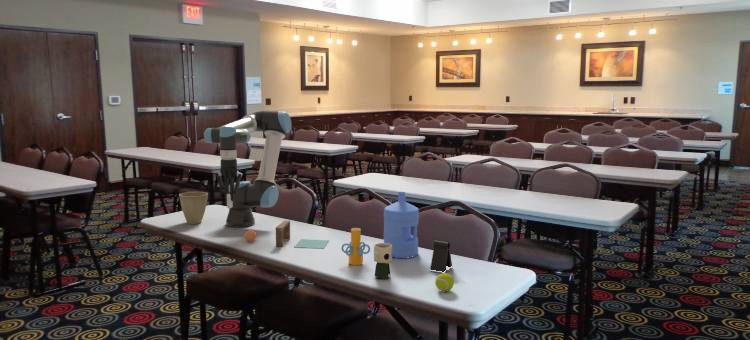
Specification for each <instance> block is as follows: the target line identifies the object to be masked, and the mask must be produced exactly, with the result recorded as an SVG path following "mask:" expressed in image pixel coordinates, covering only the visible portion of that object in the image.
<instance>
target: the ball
mask: <svg viewBox="0 0 750 340" xmlns="http://www.w3.org/2000/svg"><path fill="white" fill-rule="evenodd" d="M257 237H258V236H257V233H256V231H254V230H252V229H251V230H247V231H246V232H245V233H244V238H245V240H246V242H249V243H252V242H255V240H256V239H257Z"/></svg>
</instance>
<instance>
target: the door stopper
mask: <svg viewBox="0 0 750 340" xmlns="http://www.w3.org/2000/svg"><path fill="white" fill-rule="evenodd" d="M451 254H452V253H451V243H450V241H444V240H439V239H436V240H434V242H433V251H432V257H431V262H430V269H431V270H436V271H442V272H444V271H445V270H446V266H448V267H451V266H452V267H453V262H452V256H451ZM430 269H429V270H430Z"/></svg>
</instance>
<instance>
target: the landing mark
mask: <svg viewBox="0 0 750 340" xmlns="http://www.w3.org/2000/svg"><path fill="white" fill-rule="evenodd" d="M329 241H330V240H327V239H308V238H307V239H304V238H303V239H299V241H298V242H297V243H296V244H295V245H294V248H295V249H296V248H299V249H320V250H322V249H325V247H326V246H327V245H326V244H329Z"/></svg>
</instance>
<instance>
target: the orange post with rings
mask: <svg viewBox="0 0 750 340" xmlns="http://www.w3.org/2000/svg"><path fill="white" fill-rule="evenodd" d="M361 231H362V229H361V228H359V227H352V228H351V229H350V242H349V243H343V244H342V245H341V248H340V250H341V251H342V252H343V253H344V254H346V256H348V265H350V264H351V266H360V264H361V265H363V264H364V263H363V262H364V261H363V259H364V255H367V254H369V253H370V252H371V247H370V245H368V244H367V243H365V242H364V241H362V239H361V236H362V235H361V234H362V233H361ZM344 247H346V248H345V249H344ZM366 247H367V248H368V249H367V251H365V250H366ZM362 263H363V264H362Z"/></svg>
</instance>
